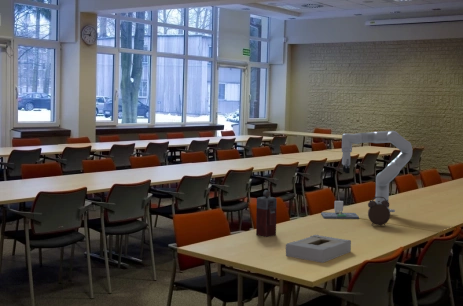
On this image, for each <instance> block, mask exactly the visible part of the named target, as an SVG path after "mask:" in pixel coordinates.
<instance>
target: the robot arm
mask: <svg viewBox="0 0 463 306" xmlns="http://www.w3.org/2000/svg"><path fill="white" fill-rule="evenodd" d="M362 143H364V144H365V143H373V144H385V143H390V144H392V145H393V146H394V147H396V148H397V149H398V150H399V151H400V152H399V153H398V155H397V156H396V157H395V158H394V159H393V160H391V162H390V163H388V164H387V166H385V168H384V169H383V170H382V171H380V172H379V173H377V175H376V176H375V195H374V197H384V198H385V199H386V201H387V200H388V201H389V197H390V183H391V182H392V181H393V180H394V179H395V178H396V177H397V176H398V175H399V174H400V171H401V170H402V169H403V168H404V167H405V166H406V165H407V164H408V162H410V160H411V159H412V156H413V151H414V150H413V146H412V143H411V141H408V140H407V139H405V138H404V137H403V136H402V135H401V134H400V133H398V132H397V130H382V131H372V132H359V133H357V132H356V133H343V134H342V135H341V153H342V156H341V165H343V166H342V172H343V173H344V174H350V166H351V153H352V152H353V144H355V145H359V144H362ZM384 198H374V201H375V202H376V203H377V204H378V203H379V204H381V202H382V201H383V200H385V199H384ZM378 201H380V202H378ZM387 208H388V207H387ZM388 209H389V212H390V213H395V211H396V210H395V209H390V207H389V208H388Z"/></svg>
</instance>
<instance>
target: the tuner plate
mask: <svg viewBox="0 0 463 306" xmlns="http://www.w3.org/2000/svg"><path fill="white" fill-rule="evenodd" d="M320 215H321V217H322V218H323V219H331V220H332V219H338V220H339V219H341V220H343V219H345V220H349V219H352V220H359V219H360V217H359V215H358V214H357V213H356V212H342V213H341V214H338V213H335V212H327V211H326V212H321V213H320Z"/></svg>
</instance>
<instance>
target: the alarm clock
mask: <svg viewBox="0 0 463 306" xmlns="http://www.w3.org/2000/svg"><path fill="white" fill-rule="evenodd" d="M375 198H384V197H375V196H374V197H373V198H372V200H371V199H369V202H367V206H368V211H367V217H368V219H369V221H370V222H371V226H375V225H376V226H383V225H384V227H386V224H388V222H389V221H390V218H391V212H389V209H390V202H389V200H387V201H386V199H385V198H384V199H385V200H383V201H382V202H381V204H379V203H378V204H377V203H376V202H375ZM378 202H380V201H378ZM387 207H388V208H389V209H388V208H387Z"/></svg>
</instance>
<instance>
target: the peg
mask: <svg viewBox="0 0 463 306" xmlns="http://www.w3.org/2000/svg"><path fill="white" fill-rule="evenodd" d="M333 211H334V213H338V214H341V213H343V211H344V201H343V200H334V209H333Z"/></svg>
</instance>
